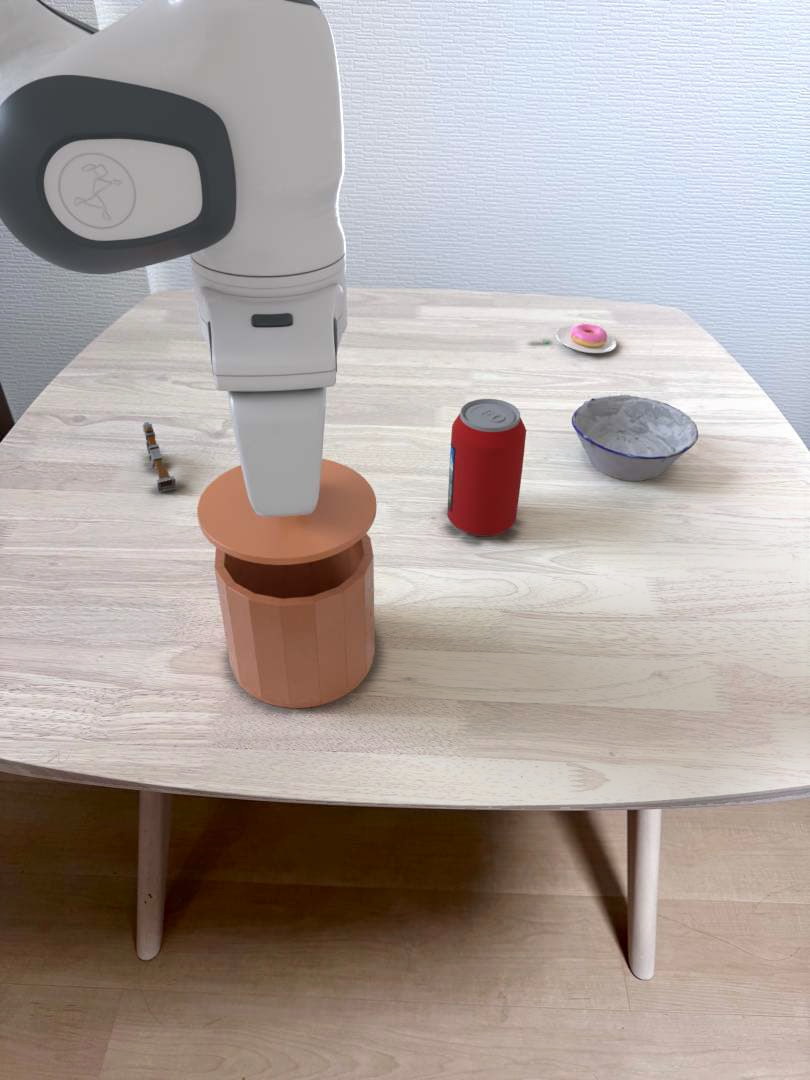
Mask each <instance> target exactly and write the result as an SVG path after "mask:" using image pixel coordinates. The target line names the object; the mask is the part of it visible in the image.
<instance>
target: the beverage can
mask: <svg viewBox="0 0 810 1080" xmlns="http://www.w3.org/2000/svg"><path fill="white" fill-rule="evenodd" d="M526 439H527V429H526V426H525V424H524V422H523V420H522V418H521V411H520V410H519V409H518V408H517V406H515V405H514V404H512V403H510V402H508V401H505V400H501V399H497V398H479V399H474V400H471V401H468V402H467V403H465V404H464V405H462V406H461V409H460V412H459V414H458V415H457V416H456V418H455V419H454V421H453V423H452V425H451V435H450V448H449V449H450V451H449V469H448V489H447V490H448V491H447V518H448V520H449V522H450V523H451V524H452V525H453V526H454V527H455V528H457V529H458V530H460V531H462V532H464V533H466V534H468V535H469V534H470V535H472V536H477V537H489V536H495V535H499V534H502V533H504V532H507V531H508V530H509V529H511V528H512V527H513V526H514V524H515V523H516V521H517V516H518V507H519V501H520V492H521V482H522V476H523V475H522V474H523V467H524V457H525V447H526Z"/></svg>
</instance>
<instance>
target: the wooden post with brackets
mask: <svg viewBox="0 0 810 1080" xmlns="http://www.w3.org/2000/svg"><path fill="white" fill-rule="evenodd" d="M142 431H143V434H144V436H145V437H144V438H145V441H146V442H145V447H146V449H147V450H146V451H147V453H148V458H149V460H148V461H149V462H151V466H152V469H154V470H156V473H157V476H158V479H156V484H157V492H158V493H162V492H167V491H170V490H175V489H177V480H176V477H175V476H174V475H172V476H171V475H170V474H169V471H168V470H167V468H166V466H165V464H164V460H163V459H164V457H163V455H162V453H161V448H160V445H159V443H157V440H156V433H155V431H154V427H153V423H150V422H148V421H144V422H143V424H142Z"/></svg>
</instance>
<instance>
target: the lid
mask: <svg viewBox="0 0 810 1080" xmlns="http://www.w3.org/2000/svg"><path fill="white" fill-rule="evenodd" d="M196 510H197V511H196V515H197V516H196V517H197V522H198V525H199V529H200V531H201V532H202V535H203V536H204V537H205V538H206V539H207V541H209V542H208V543H210V544H211V545H212V546H214V547H215V549H216V548H218V549H220V550H221V551H223V552H225V553H227V554H229V555H231V556H233V557H236V558H239V559H242V560H245V561H250V562H254V563H261V564H270V565H292V564H301V563H307V562H313V561H317V560H321V559H324V558H327V557H330V556H333V555H335V554H338V553H340V552H342V551H344V550H346V549H348V548H349V547H351V546H352V545H354V544H355V543H357V542H358V541H359V540H360V539H361V538H362V537H363V536H364V535H365V534H366V533H367V534H368V532H369V531H370V529H371V528H372V526H373V524H374V522H375V519H376V516H377V497H376V493H375V491H374V489H373V487H372V485H371V484H370V483H369V481H367V479H366V477H364V476H362V474H361V473H359V472H358V471H356V470H354V469H353V468H351V467H349V466H347V465H346V464H342V463H340V462H338V461H334V460H331V459H327V458H323V457H322V468H321V481H320V491H319V498H318V502H317V506H316V508H315V510H314V511H313V512H312V513H311V514H308V515H299V516H286V517H260V516H258V515H257V514H256V513H255V512H254V510H253V508H252V506H251V503H250V501H249V498H248V494H247V490H246V485H245V481H244V476H243V472H242V467H241V464H239V465H237V466H234V467H233V468H231V469H228V470H227V471H225V472H224V473H222V474H221V475H218V476H217V477H216V478H215V479H214V480H213V481H211V482H210V483H209V484H208V485H207V486H206V488H205V489H204V490H203V492H202V493H201V495H200V498H199V500H198V503H197V506H196Z"/></svg>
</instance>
